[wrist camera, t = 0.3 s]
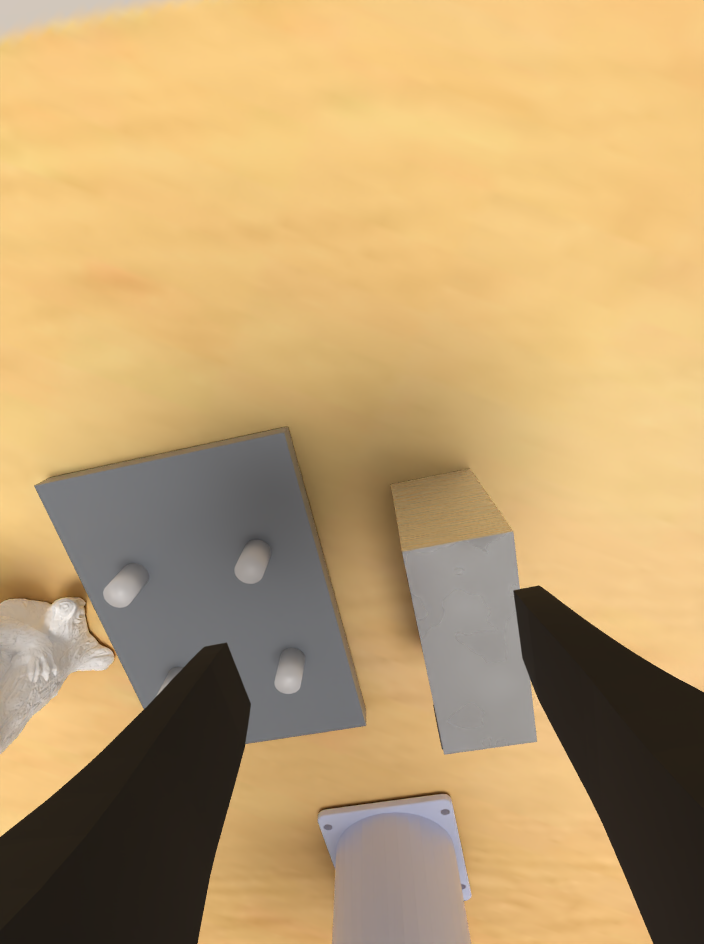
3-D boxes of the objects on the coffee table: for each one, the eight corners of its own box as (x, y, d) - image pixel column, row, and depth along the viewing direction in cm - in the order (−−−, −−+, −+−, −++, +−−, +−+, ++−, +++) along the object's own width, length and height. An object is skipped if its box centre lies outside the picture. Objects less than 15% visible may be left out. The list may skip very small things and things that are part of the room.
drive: (494, 634, 22) (538, 743, 17) (423, 646, 23) (443, 756, 17) (470, 467, 20) (514, 531, 14) (389, 483, 20) (400, 552, 14)
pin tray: (365, 709, 24) (366, 754, 22) (174, 739, 25) (153, 785, 23) (287, 426, 19) (277, 443, 16) (49, 477, 20) (6, 500, 17)
